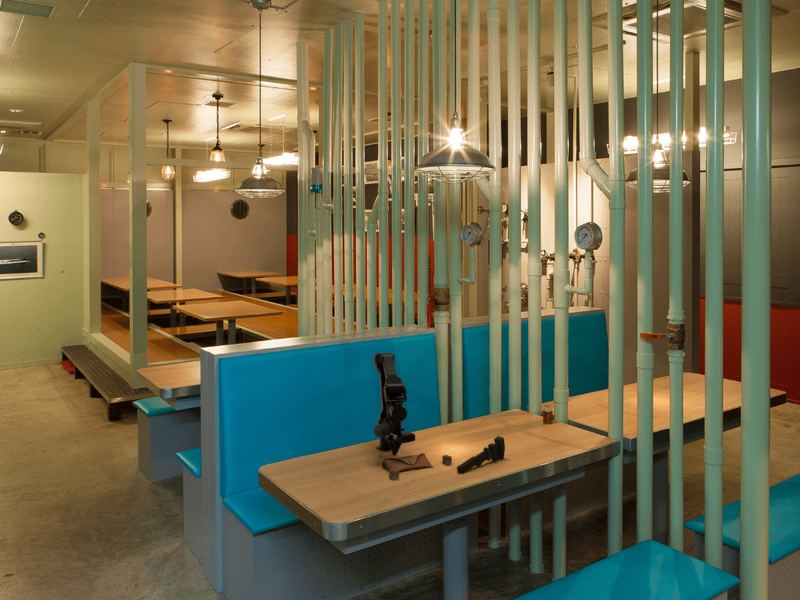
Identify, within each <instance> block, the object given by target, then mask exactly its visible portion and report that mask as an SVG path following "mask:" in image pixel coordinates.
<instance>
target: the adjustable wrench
mask: <svg viewBox="0 0 800 600" xmlns="http://www.w3.org/2000/svg"><path fill="white" fill-rule="evenodd" d="M493 441H494V443H492V442H490V443H489V444H487V447H486V446H485V447H483V451H481V452H480V453H478V454H476V455H475V456H471V457H469V459H466V460H465V461H463V462H462V463H460V464H459V465H457V466H456V471H457V474H461V475H462V474H463V475H464V474H466V472H468V471H469V470H471V469H473V468H474V467H480V466H482V465H483V463H484V462H486V461H488V462H490V461H492V460H494V461H493V462H496V461H498V462H499V460H500V459H502V460H501V461H503V459H505V452H506V444H505V438H504V437H502V436H496V437H494V438H493Z"/></svg>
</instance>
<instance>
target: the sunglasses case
mask: <svg viewBox="0 0 800 600" xmlns="http://www.w3.org/2000/svg"><path fill="white" fill-rule="evenodd" d="M381 467H382V469H383V470H385V471H386V472H388V473H389V470H390V469H396V470H398V471H399V474H400V473H401V474H402V473H406V472H412V471H417V470H423V469H424V470H425V469H432V468H434V466H433V465H432V463H431V462H430V460H429V459H428V458H427V456H426V454H425V453H420V454H414V455H405V456H399V457H390V458H389V457H388V458H385V459H383V461H382V464H381Z"/></svg>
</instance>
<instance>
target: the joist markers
mask: <svg viewBox="0 0 800 600" xmlns="http://www.w3.org/2000/svg"><path fill="white" fill-rule="evenodd" d="M441 457H442V461H441V463H442V465H445V466H451V465H453V464H452V463H453V461H452V460H453V459H452V458H453V456H451V455H448V454H444V455H442V456H441ZM388 478H389V479H390V480H392V481H398V480H400V473H399V471H398V470H396V469H390V470H389V472H388Z"/></svg>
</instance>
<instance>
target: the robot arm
mask: <svg viewBox="0 0 800 600" xmlns="http://www.w3.org/2000/svg"><path fill="white" fill-rule="evenodd" d="M372 363H373V365H374V370H375V371H376V372H377V374H378V376H379V389H380V402H381V405H380V406H381V411H380V413H379V415H378V419H377V421H376V425H375V426H374V427H373V432H374V435H375V437H376V438H379V445H377V446H376V448H377V449H378V450H381V451H384V452H390V451H391V454H392V456H397V454H398V452H399V450H400V449H401V446H402V444H407V443H411V442H416V434H415V433H414V432H411V431H405V428H404V427H403V421H405V420H406V418H407V416H408V411H407V408H405V406H404V404H403V403H405V402H408V401H407V399H408V393H407V391H408V390H407V387H406V386H405V384H404V383H403V380H402V378H400V377H399V376H398V374H397V368H396V365H395V364H396V355H395V354H394V353H392V352H376V353H375V354H374V355H373V357H372Z"/></svg>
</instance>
